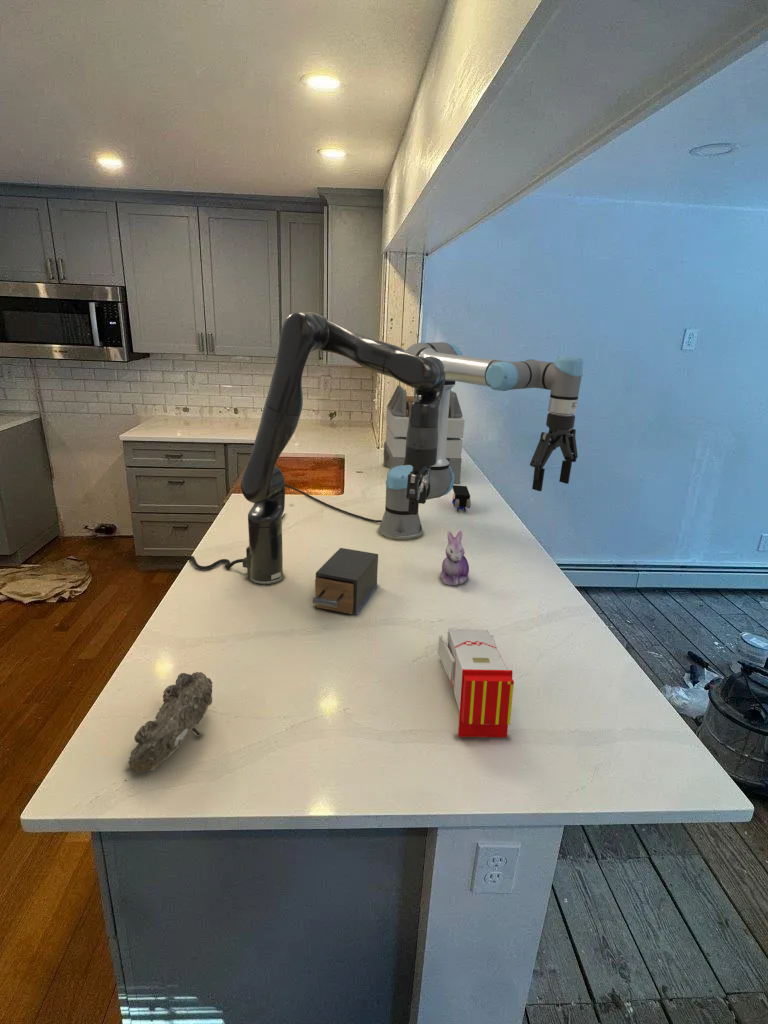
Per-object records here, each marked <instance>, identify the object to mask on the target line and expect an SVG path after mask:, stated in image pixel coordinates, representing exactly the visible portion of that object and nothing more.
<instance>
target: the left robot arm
mask: <svg viewBox="0 0 768 1024" xmlns="http://www.w3.org/2000/svg"><path fill="white" fill-rule="evenodd" d="M317 351H319V352H325V353H326V352H327V353H331V354H336V355H339V356H342V357H345V358H347V359H349V360H351V361H352V362H354V363H355V364H357V365H359V366H360V367H363V368H364V369H367V370H370V371H372V372H375V373H378V374H381V375H383V376H386V377H390V378H393V379H395V380H397V381H398V382H400V383H402V384H403V385H406V386H408V387H410V388H413V389H414V390H415V391H414V399H413V400H412V402H411V404H410V408H409V422H408V429H407V436H406V452H405V462H406V463H407V464H409V465H411V466H413V469H412V471H411V472H410V474H408V483H407V495H406V498H407V499H409V509H408V513H409V514H413V515H416V514H417V513H418V514H419V508H418V504H419V505H420V504H421V505H425V504H426V502H427V500H426V493H427V489H428V485H429V483H430V470H431V466H434V465H435V464H436V459H437V447H438V422H439V406H440V402H441V398H442V393H443V389H444V384H445V367H444V365H443V363H442V361H441V360H440V359H438V358H436V357H432V356H430V357H424V358H423V357H419V356H416V355H413V354H410V353H407V352H405V351H406V350H405V349H404V348H402V347H400V346H397V345H395V344H392V343H389V342H387V341H386V342H385V341H382V340H379V339H376V338H373V337H370V336H366V335H364V334H360V333H357V332H355V331H352V330H349V329H347V328H345V327H343V326H341V325H339V324H337V323H335V322H333V321H331V320H330V319H328V318H326V317H325V316H322V315H321V314H319V313H317V312H314V311H295V312H292V313H290V314H289V315H288V316H286V318H285V320H284V322H283V324H282V327H281V331H280V337H279V343H278V348H277V355H276V360H275V366H274V369H273V374H272V377H271V380H270V384H269V389H268V393H267V395H266V399H265V402H264V405H263V409H262V413H261V417H260V418H261V419H260V422H259V426H258V429H257V432H256V435H255V439H254V445H253V448H252V450H251V453H250V456H249V458H248V461H247V463H246V465H245V469H244V471H243V473H242V476H241V480H240V489H241V493H242V495H243V497H244V498H245V500H246V501H248V502H250V503H253V505H252V507H251V508H250V510H249V512H248V514H247V527H248V545H247V547H246V548H245V553H246V556H245V557H244V558H237V559H235V560H232V561H230V560H229V559H227V558H221V559H217V560H216V561H214V562H213V563H211V564H209V565H201V564H198V561H197V560H196V558H195V556H193V555H188V557H187V558H186V560H187V561H191V562H192V564H193V566H194V567H195V568H196V569H199V570H202V571H203V570H204V571H205V570H210V569H212V568H214V567H216V566H217V565H219V564H223V563H225V568H226V569H230V568H231V567H233V566H234V565H237V564H240V563H242V568H244V569H246V575H247V576H246V577H247V579H248V580H250V581H251V582H253V583H255V584H259V585H272V584H277V583H278V582H280V581H282V580H283V578H284V568H283V567H284V566H283V565H284V563H283V562H284V560H283V558H284V557H283V555H284V553H283V519H282V516H283V515H284V512H285V506H286V505H285V503H286V486H285V484H286V482H285V480H286V479H285V477H284V476H285V475H284V473H283V471H282V470H281V468H280V467H279V466H277V462H278V459H280V456H281V454H282V453H283V452H284V449H286V447H287V445H288V444H289V442H290V440H292V437H293V436H294V434H295V433H296V429H297V427H298V424H299V421H300V418H301V414H302V410H303V405H304V393H303V385H302V381H303V373H304V369H305V367H306V363H307V361H308V358H309V356H310V354H311V353H313V352H317ZM412 491H415V494H412Z"/></svg>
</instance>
